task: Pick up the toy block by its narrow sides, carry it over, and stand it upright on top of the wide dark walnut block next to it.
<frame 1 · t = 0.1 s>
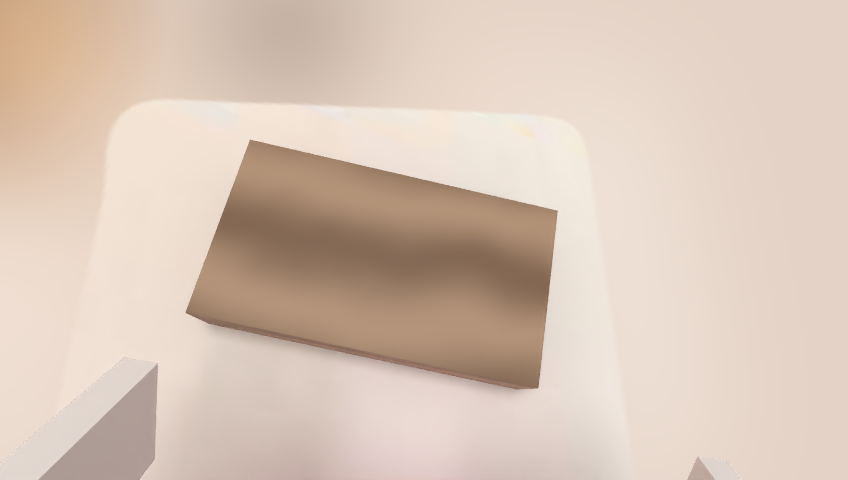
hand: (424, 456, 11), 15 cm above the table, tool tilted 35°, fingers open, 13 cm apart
walnut base block: (384, 275, 29), on the table
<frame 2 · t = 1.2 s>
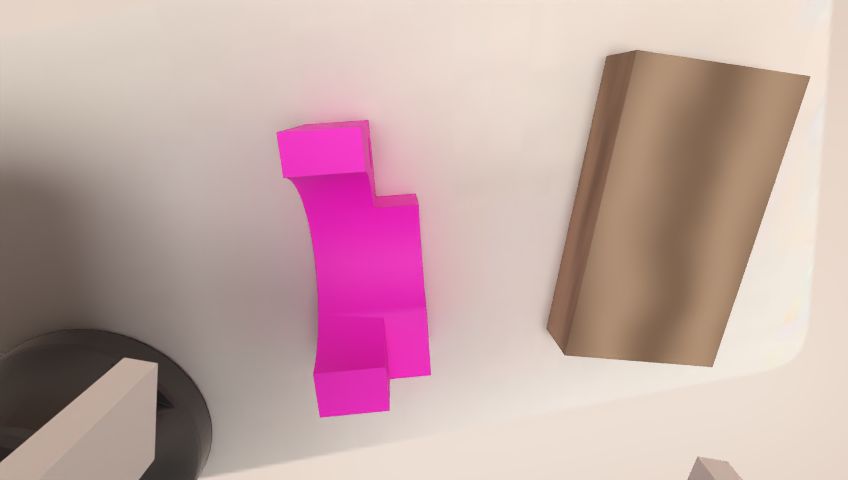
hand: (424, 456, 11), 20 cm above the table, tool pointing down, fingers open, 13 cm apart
walnut base block: (643, 210, 31), on the table
toy block: (370, 238, 30), on the table
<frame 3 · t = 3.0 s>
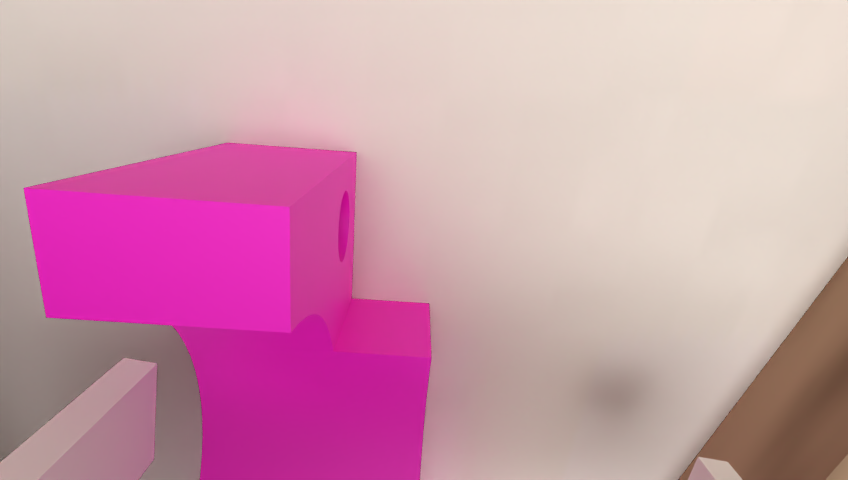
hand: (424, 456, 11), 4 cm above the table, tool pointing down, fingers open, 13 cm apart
toy block: (333, 367, 16), on the table, touching gripper
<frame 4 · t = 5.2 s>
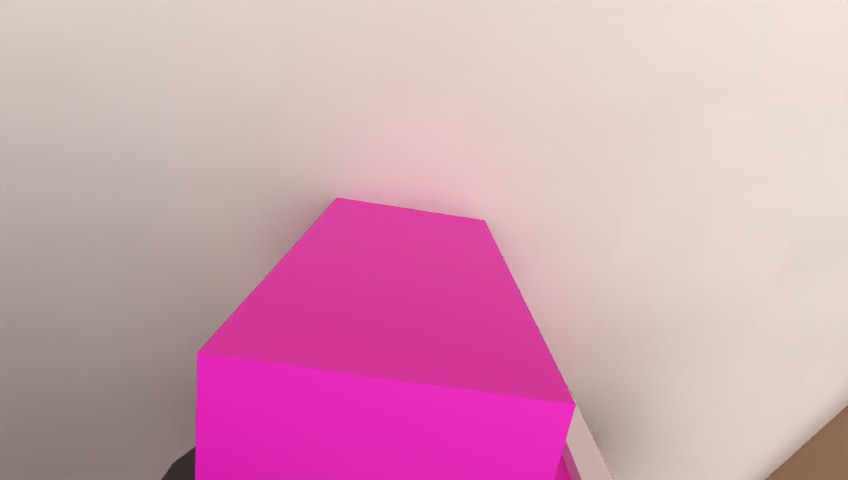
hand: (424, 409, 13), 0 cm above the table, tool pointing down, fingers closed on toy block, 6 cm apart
toy block: (415, 452, 14), on the table, touching gripper
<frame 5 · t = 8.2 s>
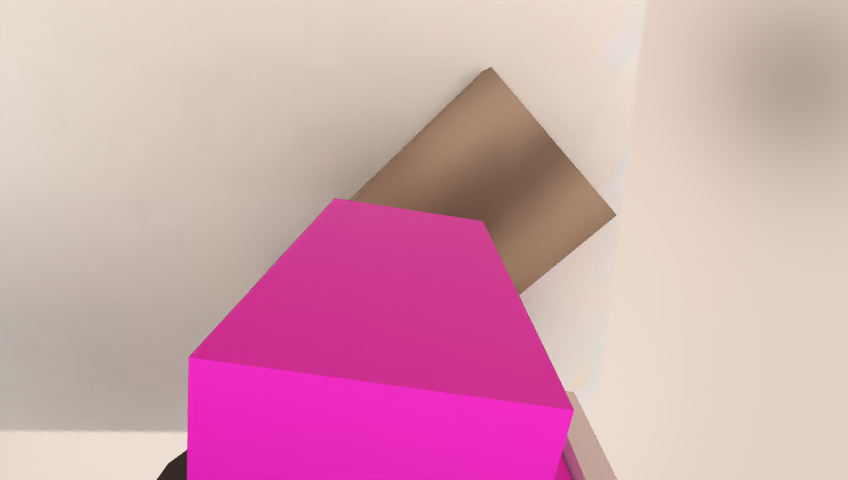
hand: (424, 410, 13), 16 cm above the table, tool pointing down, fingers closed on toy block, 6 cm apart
walnut base block: (426, 239, 29), on the table
toy block: (413, 454, 14), point 16 cm above the table, touching gripper
when the fingers open (5 cm above the table, at t = 10.8 s): toy block drops 2 cm, resting on walnut base block.
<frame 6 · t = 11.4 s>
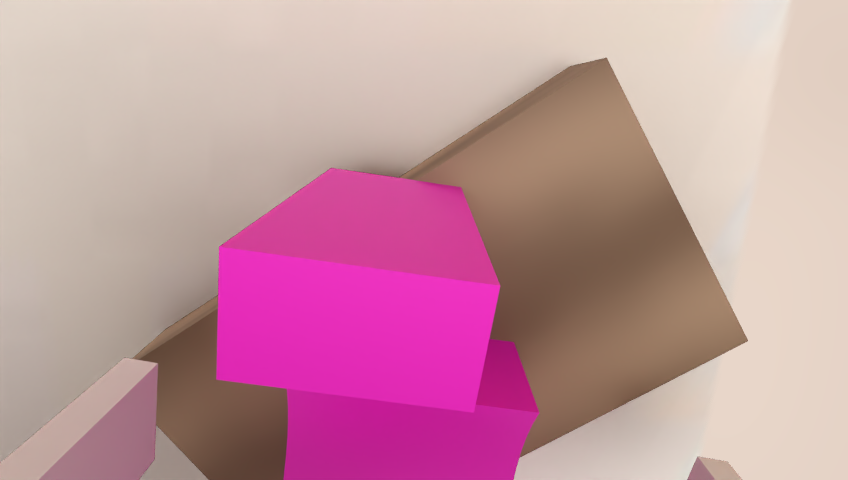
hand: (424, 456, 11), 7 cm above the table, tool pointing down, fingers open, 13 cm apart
walnut base block: (424, 306, 19), on the table, touching toy block
toy block: (405, 400, 16), point 3 cm above the table, touching walnut base block
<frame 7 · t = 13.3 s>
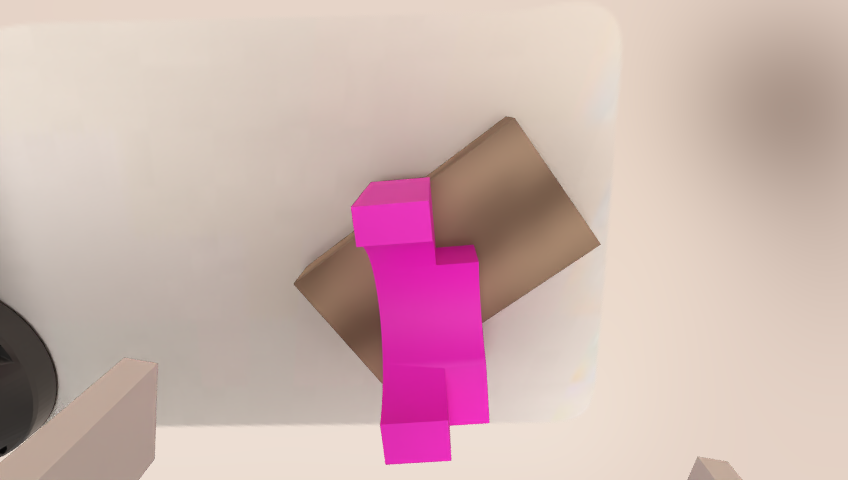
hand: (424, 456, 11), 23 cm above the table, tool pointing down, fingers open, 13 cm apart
walnut base block: (442, 246, 35), on the table, touching toy block
toy block: (429, 287, 32), point 3 cm above the table, touching walnut base block
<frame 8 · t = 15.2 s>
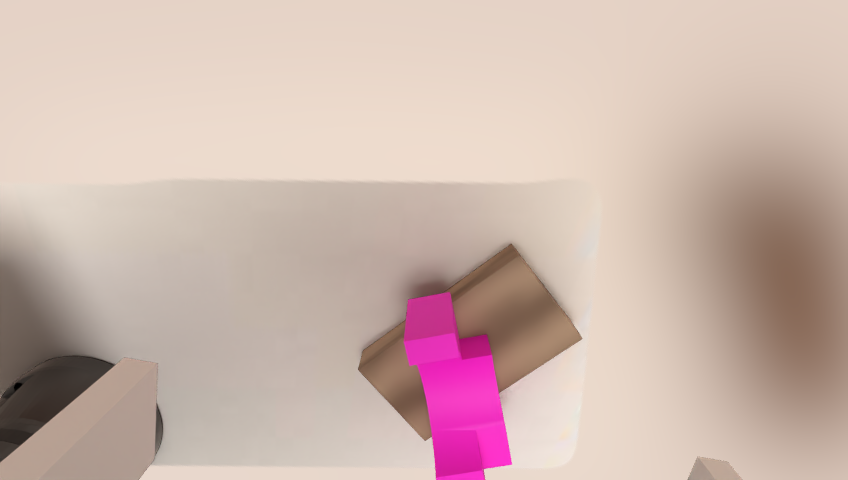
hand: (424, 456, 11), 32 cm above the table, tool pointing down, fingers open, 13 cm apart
walnut base block: (465, 333, 46), on the table, touching toy block
toy block: (457, 366, 43), point 3 cm above the table, touching walnut base block
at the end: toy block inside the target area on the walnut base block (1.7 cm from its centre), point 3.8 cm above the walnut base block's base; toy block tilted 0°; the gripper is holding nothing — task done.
